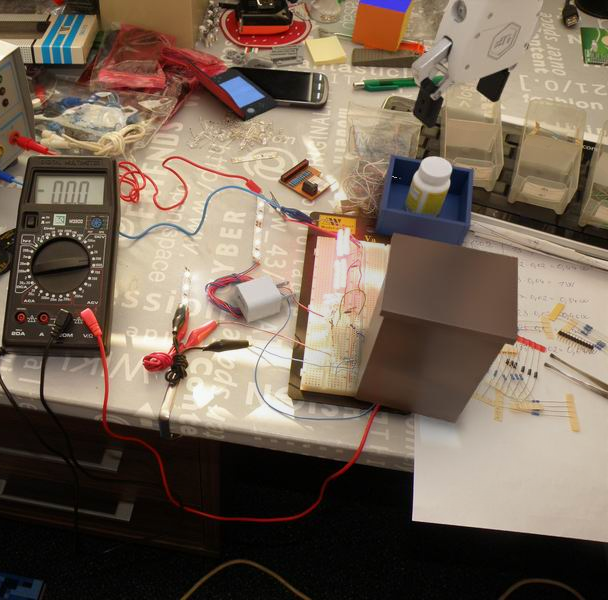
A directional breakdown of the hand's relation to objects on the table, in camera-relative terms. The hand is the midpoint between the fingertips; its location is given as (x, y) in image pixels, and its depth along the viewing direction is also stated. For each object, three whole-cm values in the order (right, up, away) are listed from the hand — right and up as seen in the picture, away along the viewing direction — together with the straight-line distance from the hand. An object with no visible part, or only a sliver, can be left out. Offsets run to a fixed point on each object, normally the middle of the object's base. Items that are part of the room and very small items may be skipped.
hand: (455, 108), depth 78 cm
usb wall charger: (-22, -23, +6) cm, 32 cm away
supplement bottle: (+1, -10, +15) cm, 18 cm away
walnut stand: (-6, -32, -1) cm, 32 cm away
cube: (+2, +24, +42) cm, 49 cm away
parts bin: (+1, -11, +15) cm, 19 cm away
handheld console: (-25, +10, +31) cm, 41 cm away
